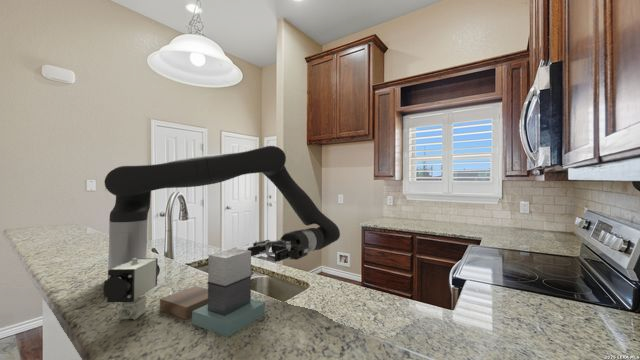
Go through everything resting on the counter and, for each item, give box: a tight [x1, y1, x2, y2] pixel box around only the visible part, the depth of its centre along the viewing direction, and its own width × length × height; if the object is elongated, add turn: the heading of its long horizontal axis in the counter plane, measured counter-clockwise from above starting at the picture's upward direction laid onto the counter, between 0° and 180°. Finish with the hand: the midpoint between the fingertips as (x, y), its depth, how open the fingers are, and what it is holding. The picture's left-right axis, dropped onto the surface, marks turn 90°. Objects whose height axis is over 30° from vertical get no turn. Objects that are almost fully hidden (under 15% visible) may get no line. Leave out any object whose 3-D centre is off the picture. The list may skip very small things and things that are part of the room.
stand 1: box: [159, 285, 208, 321], centre depth 61 cm, size 9×9×2 cm
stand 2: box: [191, 299, 266, 338], centre depth 56 cm, size 10×10×2 cm
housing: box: [206, 248, 252, 316], centre depth 56 cm, size 5×7×11 cm
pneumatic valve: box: [102, 257, 161, 321], centre depth 57 cm, size 6×12×12 cm, turn 3°
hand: (261, 254), depth 65 cm, fingers open, 8 cm apart
